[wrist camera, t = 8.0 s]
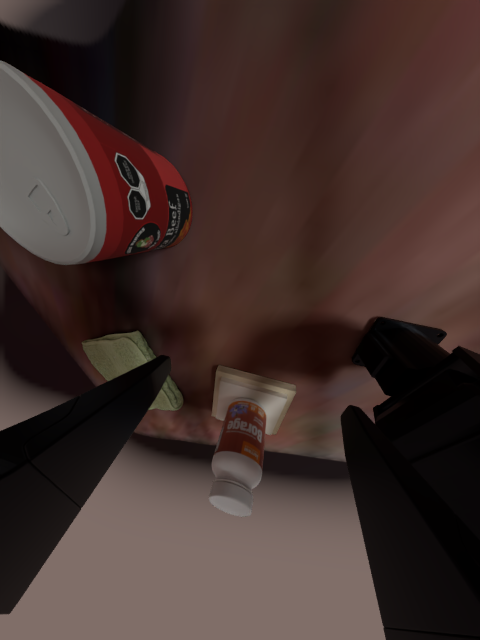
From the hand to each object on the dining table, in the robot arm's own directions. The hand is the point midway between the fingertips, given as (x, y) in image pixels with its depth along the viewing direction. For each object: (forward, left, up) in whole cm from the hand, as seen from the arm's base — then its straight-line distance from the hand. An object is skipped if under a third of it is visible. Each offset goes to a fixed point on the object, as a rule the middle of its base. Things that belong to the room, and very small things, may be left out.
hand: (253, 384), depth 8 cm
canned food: (+13, -7, -13) cm, 20 cm away
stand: (-1, +19, -13) cm, 23 cm away
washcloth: (+20, +20, -14) cm, 31 cm away
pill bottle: (-1, +19, -11) cm, 22 cm away
